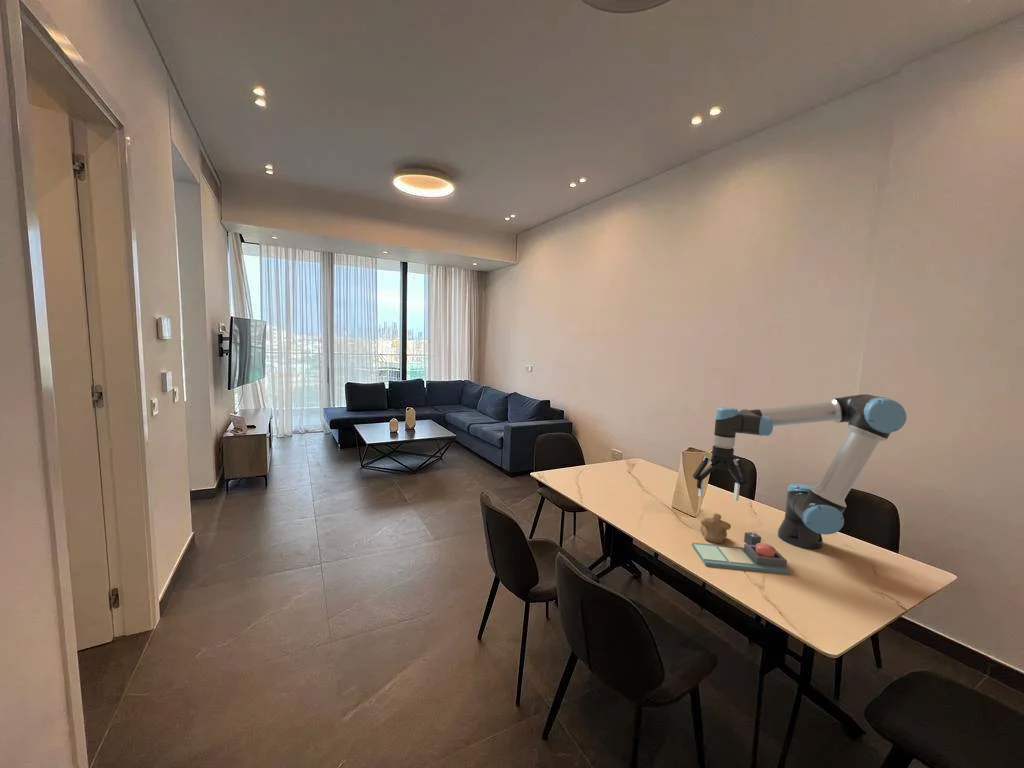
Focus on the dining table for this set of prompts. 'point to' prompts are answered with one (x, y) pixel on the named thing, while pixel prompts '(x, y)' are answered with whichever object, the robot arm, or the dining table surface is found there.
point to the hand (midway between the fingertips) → (717, 498)
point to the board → (740, 558)
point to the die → (752, 538)
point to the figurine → (714, 528)
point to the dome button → (765, 550)
